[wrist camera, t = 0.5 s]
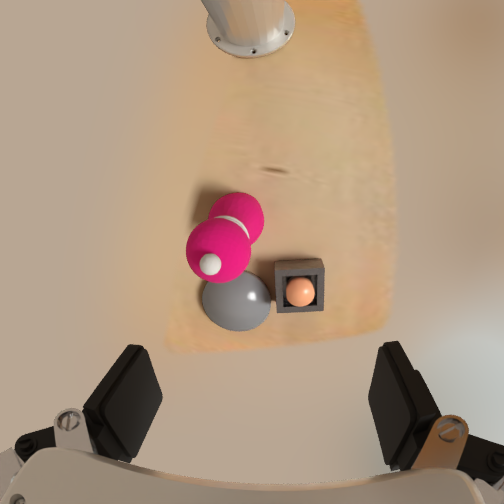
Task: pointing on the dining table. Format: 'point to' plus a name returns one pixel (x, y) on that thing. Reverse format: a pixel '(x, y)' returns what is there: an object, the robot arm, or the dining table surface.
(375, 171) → the dining table surface
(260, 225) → the pepper mill
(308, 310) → the button housing
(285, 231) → the dining table surface
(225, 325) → the pad
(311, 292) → the button
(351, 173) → the dining table surface
